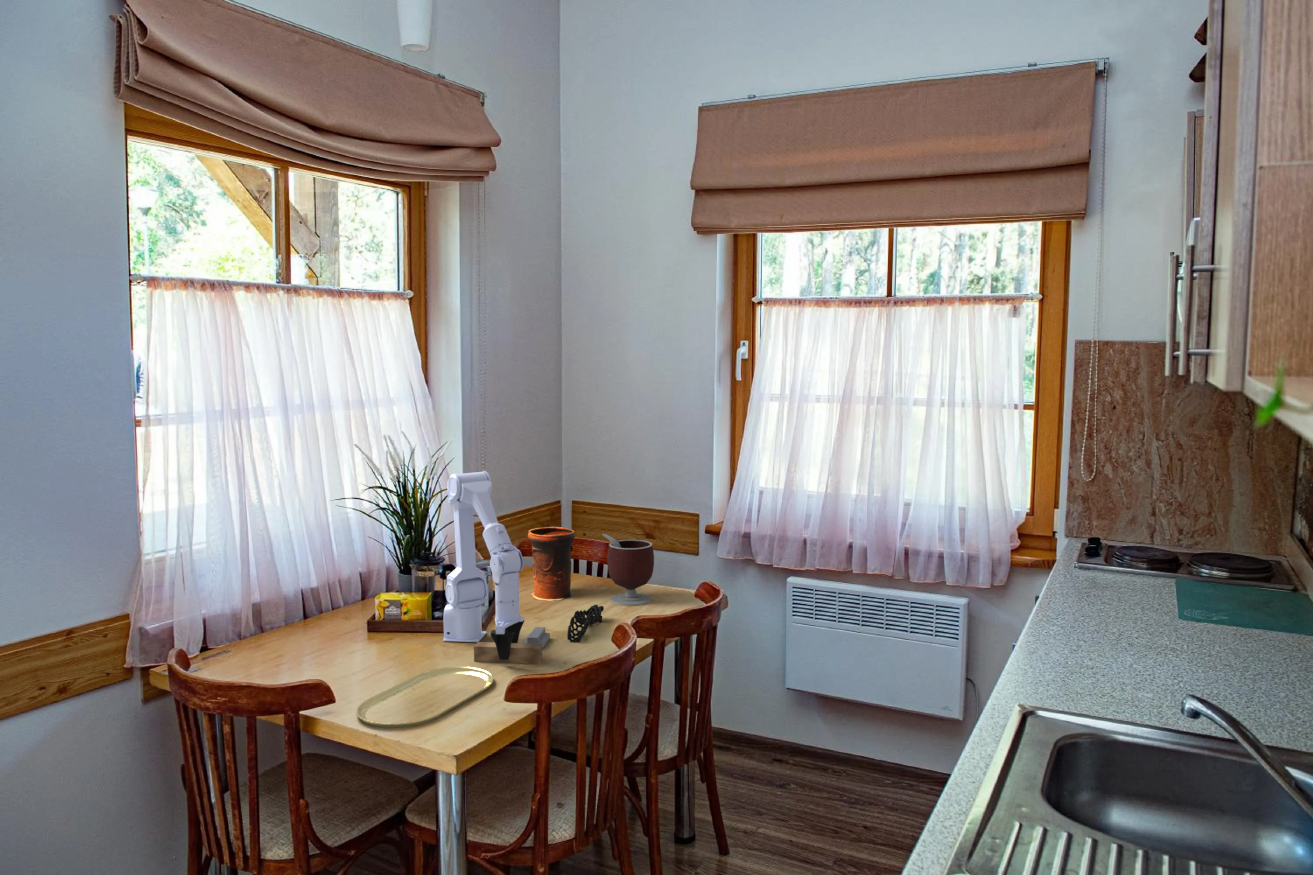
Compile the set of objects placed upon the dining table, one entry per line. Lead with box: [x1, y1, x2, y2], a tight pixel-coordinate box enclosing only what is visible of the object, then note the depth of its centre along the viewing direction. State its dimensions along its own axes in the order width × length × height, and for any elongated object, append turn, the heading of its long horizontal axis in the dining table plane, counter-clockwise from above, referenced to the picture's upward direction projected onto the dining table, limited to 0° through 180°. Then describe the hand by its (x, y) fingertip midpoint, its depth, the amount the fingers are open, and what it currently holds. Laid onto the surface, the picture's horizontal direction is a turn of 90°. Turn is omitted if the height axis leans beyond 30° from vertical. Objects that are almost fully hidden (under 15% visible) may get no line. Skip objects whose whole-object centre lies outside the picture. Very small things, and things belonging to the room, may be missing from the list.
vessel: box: [527, 526, 576, 602], centre depth 291 cm, size 14×14×20 cm
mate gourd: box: [602, 533, 655, 607], centre depth 285 cm, size 16×14×20 cm
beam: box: [473, 641, 543, 665], centre depth 232 cm, size 16×4×4 cm, turn 84°
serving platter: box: [356, 666, 494, 729], centre depth 208 cm, size 19×35×2 cm, turn 155°
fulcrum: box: [522, 626, 551, 650], centre depth 245 cm, size 5×9×3 cm, turn 174°
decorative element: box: [566, 604, 605, 643], centre depth 256 cm, size 22×5×6 cm, turn 167°
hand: (508, 654), depth 232 cm, fingers open, 7 cm apart
